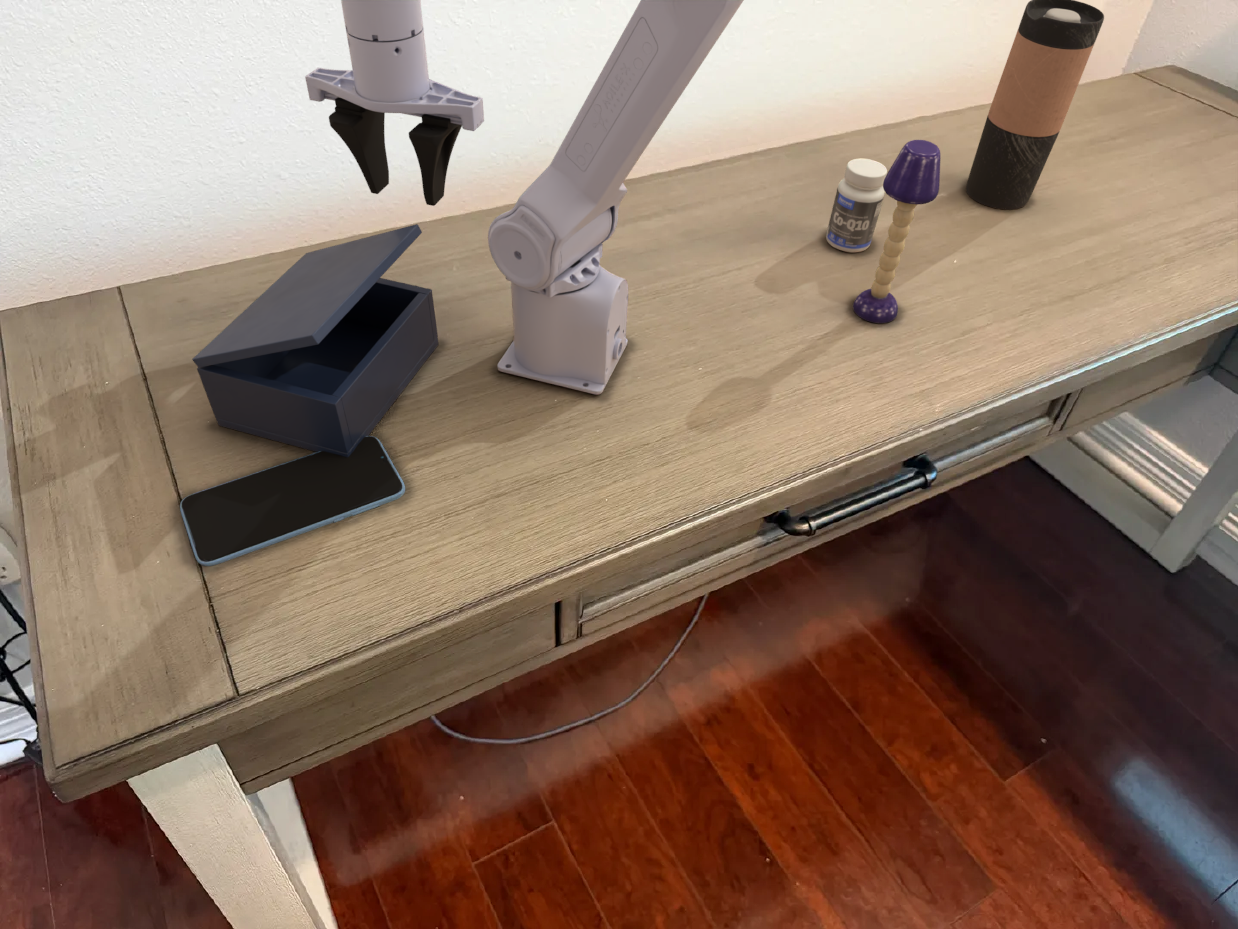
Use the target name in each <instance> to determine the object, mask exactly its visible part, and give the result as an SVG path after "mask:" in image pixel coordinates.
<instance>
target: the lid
mask: <svg viewBox="0 0 1238 929" xmlns="http://www.w3.org/2000/svg"><path fill="white" fill-rule="evenodd" d="M422 233H423V231H422V229H421V227H420V225H419V224H418V223H417V224H412V225H408V226H405V227H404V226H403V227H400V228H397V229H393V230H389V231H386V232H381V233H378V234H374V235H370V236H366V237H362V238H358V239H355V240H351V241H347V242H344V243H339V244H335V245H331V246H328V247H324V248H320V249H317V250H313V251H308V252H306V253H304V255H302V256H301V257H300V258H299V259H298V260H296V262H294V264H293V265H292V266H290V268H289V269H287V270H286V271H285V272H284V273H283V274H282V275H281V276H280V277H278V279H276V280H275V282H273V284H271V285H270V286H269V287H268V288H267V289H265V291H263V293H261V294H260V295H259V296H258V297H257V298H256V299H255V300H254V301H253V302H252V303H251V304H250V305H249V306H247V308H245V309H244V310H243V311H242V312H241V313H240V314H239V315H238V316H237V317H235V319H233V320H232V321H231V322H230V323H229V324H228V325H227V326H226V327H225V328H224V329H223V330H222V331H221V332H220V333H219V334H217V336H216V337H214V338H213V339H212V340H211V341H210V342H209V343H208V344H206V345H205V346H204V347H203V348H202V349H201V350H200V351H199V352H198V353H197V354H196V355H195V356H194V357H192V362H193V363H194V364H195V366H196V367H197V368H198V367H204V366H209V365H214V364H219V363H224V362H230V361H235V360H240V359H245V358H250V357H256V356H261V355H266V354H271V353H276V352H282V351H287V350H292V349H297V348H302V347H308V346H313V345H318V344H319V343H320V342H321V341H322V340H323V339H324V338H325V337H326V335H327V334H328V333H329V332H330V331H331V330H332V329H333V328H334V327H335V326H336V325H337V324H338V323H339V321H340V320H341V319H342V318H343V317H344V316H345V315H346V314H347V313H348V312H349V311H350V310H351V309H352V307H353V306H354V305H355V304H356V303H357V302H358V301H359V300H360V299H361V298H362V297H363V296H364V295H365V294H366V292H367V291H368V290H369V289H370V288H371V287H372V286H373V285H374V284H375V283H376V282H377V281H378V280H379V278H382V276H383V275H384V274H386V272H387V271H388V270H389V269H390V268H391V267H392V266H393V264H395V262H397V261H398V259H399V258H400V257H401V256H402V255H403V254H404V253H405V252H406V251H407V249H408V248H409V247H410V246H411V245H412V244H413V243H414V242H415V241H416V240H417V239H418V238H419V237H420V236H421V234H422Z"/></svg>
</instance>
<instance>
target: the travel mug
mask: <svg viewBox="0 0 1238 929" xmlns="http://www.w3.org/2000/svg"><path fill="white" fill-rule="evenodd" d="M1104 14H1105V13H1103V11H1101V10H1100V9H1098V8H1097V7H1096V6H1093V5H1091V4H1088V3H1085V2H1082V1H1079V0H1029V1H1028V2H1027V4H1026V5H1025V9H1024V11H1023V14H1022V17H1021V19H1020V22H1019V25H1018V28H1017V31H1016V34H1015V37H1014V39H1013V42H1012V45H1011V47H1010V51H1009V54H1008V56H1007V59H1006V62H1005V65H1004V68H1003V70H1002V73H1001V76H1000V79H999V81H998V85H997V88H996V90H995V93H994V96H993V99H992V101H991V105H990V107H989V110H988V114H987V116H986V119H985V122H984V126H983V129H982V133H981V135H980V139H979V142H978V145H977V147H976V148H977V149H976V152H975V155H974V157H973V161H972V165H971V168H970V171H969V175H968V177H967V180H966V185H965V191H966V194H967V195H968V196H969V198H970V199H972V200H974V201H975V202H976V203H979V204H980V205H983V206H986V207H989V208H993V209H999V210H1018V209H1021V208H1023V207H1025V206H1027V204H1028V203H1029V201H1030V199H1031V197H1032V194H1033V193H1034V190H1035V188H1036V186H1037V184H1038V181H1039V179H1040V177H1041V174H1042V172H1043V170H1044V168H1045V166H1046V163H1047V162H1048V159H1049V157H1050V155H1051V152H1052V149H1053V147H1054V145H1055V143H1056V141H1057V138H1058V136H1059V134H1060V131H1061V130H1062V126H1063V124H1064V123H1065V120H1066V117H1067V114H1068V112H1069V109H1070V106H1071V104H1072V101H1073V99H1074V97H1075V94H1076V92H1077V89H1078V86H1079V84H1080V81H1081V79H1082V77H1083V74H1084V71H1085V69H1086V66H1087V63H1088V62H1089V59H1090V56H1091V53H1092V51H1093V49H1094V46H1095V43H1096V41H1097V38H1098V36H1099V33H1100V30H1101V28H1102V26H1103V23H1104V21H1105V15H1104Z"/></svg>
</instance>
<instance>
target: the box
mask: <svg viewBox="0 0 1238 929" xmlns="http://www.w3.org/2000/svg"><path fill="white" fill-rule="evenodd" d="M434 303H435V302H434V294H433V289H431V288H426V287H423V286H418V285H413V284H409V283H405V282H402V281H401V282H400V281H398V280H397V281H396V280H392V279H387V278H384V277H380V278H379V280H378V281H377V282H376V283H375V284H374V285H373V286H372V287H371V288H370V289H369V290H368V291H367V292H366V294H365V295H364V296H363V297H362V298H361V299H360V300H359V301H358V302H357V303H356V304H355V305H354V306H353V307H352V309H351V310H350V311H349V312H348V313H347V314H346V315H345V316H344V317H343V318H342V319H341V320H340V321H339V323H338V324H337V325H336V326H335V327H334V328H333V329H332V330H331V331H330V332H329V333H328V334H327V335H326V337H325V338H324V339H323V340H322V341H321V342H320V343H319V344H318V345H313V346H308V347H302V348H297V349H292V350H287V351H282V352H276V353H271V354H266V355H261V356H256V357H250V358H245V359H240V360H235V361H230V362H224V363H219V364H214V365H209V366H204V367H198V366H197V368H196V370H197V373H198V376H199V378H200V382H201V384H202V386H203V388H204V392H205V394H206V397H207V399H208V402H209V405H210V407H211V410H212V412H213V415H214V418H215V420H216V423H217V425H218V426H220V427H222V428H223V427H224V428H228V429H230V430H235V431H237V432H242V433H245V434H249V435H253V436H257V437H259V438H264V439H267V440H271V441H273V442H278V443H282V444H285V445H289V446H292V447H297V448H301V449H304V450H308V451H311V452H314V453H316V452H319V451H326V452H329V453H333V454H337V455H341V456H344V457H349V456H350V455H351V453H352V452H353V451H354V449H355V448H356V447H357V446H358V444H359V443H360V442H361V440H362V439H363V438H364V437H365V436H370V434H371V433H372V432H373V430H375V428H376V426H377V425H378V424H379V423H380V422H381V420H382V419H383V418H384V416H385V415H386V414H387V412H388V411H389V410H390V409H391V407H393V404H394V403H395V402H396V401H397V399H398V398H399V397H400V395H401V394H402V393H403V391H404V390H405V389H406V387H407V386H408V385H409V384H410V382H411V381H412V380H413V378H414V377H415V376H416V374H418V372H419V371H420V369H421V368H422V367H423V366H424V364H425V363H426V361H427V360H428V359H429V358H430V356H431V355H432V354H433V352H434V351H435V350H436V348H437V347H438V346H439V335H438V327H437V319H436V318H437V317H436V312H435V304H434Z"/></svg>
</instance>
